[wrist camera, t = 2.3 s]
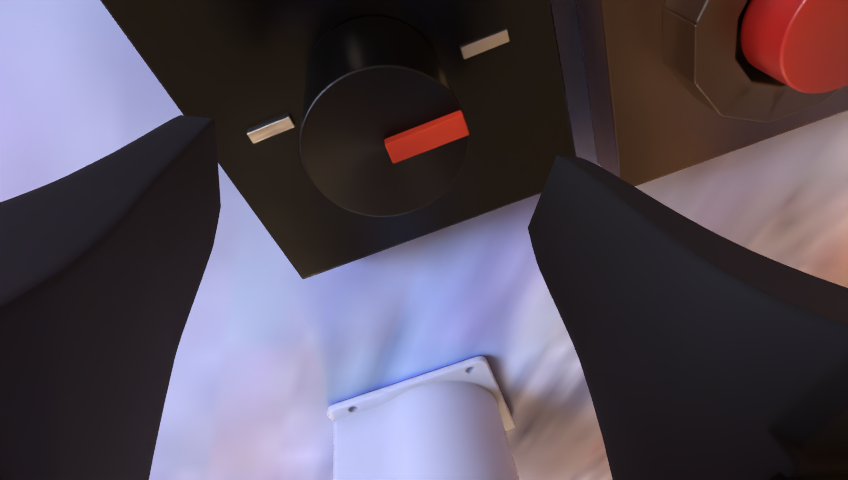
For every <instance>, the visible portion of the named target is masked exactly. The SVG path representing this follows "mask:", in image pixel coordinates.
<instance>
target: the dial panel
mask: <svg viewBox="0 0 848 480" xmlns="http://www.w3.org/2000/svg"><path fill="white" fill-rule="evenodd" d="M101 2H102V3H103V4H104V6H105V7H106V9H107V10H108V11H109V13H110V14H111V15H112V17H113V18H114V20H115V21H116V22H117V24H118V25H119V27H120V28H121V29H122V31H123V32H124V33H125V35H126V36H127V38H128V39H129V40H130V42H131V43H132V44H133V46H134V47H135V49H136V50H137V51H138V53H139V54H140V55H141V57H142V58H143V60H144V61H145V62H146V64H147V65H148V66H149V68H150V69H151V71H152V72H153V73H154V75H155V76H156V78H157V79H158V80H159V82H160V83H161V84H162V86H163V87H164V89H165V90H166V91H167V93H168V94H169V95H170V97H171V98H172V100H173V101H174V102H175V104H176V105H177V106H178V108H179V109H180V111H181V112H182V113H183V115H184V116H192V117H202V118H211V119H215V129H216V144H217V159H218V163H219V164H220V166H221V167H222V169H223V170H224V171H225V173H226V174H227V175H228V177H229V178H230V180H231V181H232V182H233V184H234V185H235V186H236V188H237V189H238V191H239V192H240V193H241V195H242V196H243V197H244V199H245V200H246V202H247V203H248V204H249V206H250V207H251V209H252V210H253V211H254V213H255V214H256V215H257V217H258V218H259V220H260V221H261V222H262V224H263V225H264V226H265V228H266V229H267V231H268V232H269V233H270V235H271V236H272V237H273V239H274V240H275V242H276V243H277V244H278V246H279V247H280V249H281V250H282V251H283V253H284V254H285V255H286V257H287V258H288V260H289V261H290V262H291V264H292V265H293V266H294V268H295V269H296V271H297V272H298V273H299V275H300V276H301V277H302V279H306V278H308V277H311V276H314V275H317V274H319V273H322V272H325V271H328V270H330V269H333V268H336V267H339V266H341V265H344V264H347V263H350V262H352V261H355V260H358V259H361V258H363V257H366V256H369V255H372V254H374V253H377V252H380V251H383V250H385V249H388V248H391V247H394V246H396V245H399V244H402V243H405V242H407V241H410V240H413V239H416V238H418V237H421V236H424V235H427V234H429V233H432V232H435V231H438V230H440V229H443V228H446V227H449V226H451V225H454V224H457V223H460V222H462V221H465V220H468V219H471V218H473V217H476V216H479V215H482V214H484V213H487V212H490V211H493V210H495V209H498V208H501V207H504V206H506V205H509V204H512V203H515V202H517V201H520V200H523V199H526V198H528V197H531V196H534V195H537V194H539V193H542V191H543V188H544V186H545V183H546V180H547V178H548V175H549V173H550V170H551V168H552V165H553V163H554V160H555V158H556V155H559V156H568V157H576V153H575V146H574V140H573V134H572V128H571V122H570V116H569V110H568V104H567V98H566V92H565V86H564V80H563V74H562V68H561V62H560V55H559V49H558V43H557V37H556V31H555V25H554V19H553V13H552V7H551V1H550V0H101ZM366 16H380V17H387V18H392V19H395V20H398V21H401V22H403V23H405V24H407V25H409V26H411V27H412V28H414V29H415V30H416V31H418V32H419V33H420V34H421V35H422V36H423V37H424V38H425V39H426V40H427V41H428V43H429V44H430V45H431V47H432V48H433V50H434V52H435V54H436V56H437V58H438V60H439V62H440V64H441V66H442V68H443V70H444V72H445V74H446V77H447V79H448V81H449V83H450V85H451V87H452V89H453V91H454V93H455V96H456V98H457V100H458V102H459V104H460V106H461V108H462V111H463V113H464V116H465V119H466V123H467V127H468V131H469V135H468V149H467V154H466V158H465V161H464V164H463V166H462V168H461V170H460V172H459V174H458V176H457V177H456V179H455V180H454V182H453V183H452V184H451V186H450V187H449V188H448V189H447V190H446V191H445V192H444V193H443V194H442V195H441V196H440V197H438V198H437V199H435V200H434V201H433V202H431V203H429V204H428V205H426V206H424V207H422V208H420V209H418V210H415V211H412V212H409V213H406V214H402V215H396V216H387V217H377V216H368V215H362V214H358V213H355V212H352V211H349V210H346V209H344V208H342V207H340V206H338V205H337V204H335V203H334V202H332V201H331V200H329V199H328V198H327V197H326V196H324V195H323V194H322V193H321V192H320V191H319V190H318V188H317V187H316V186H315V185H314V184H313V182H312V181H311V179H310V178H309V176H308V174H307V172H306V170H305V168H304V165H303V162H302V158H301V152H300V131H301V121H302V112H303V102H304V92H305V82H306V74H307V68H308V64H309V61H310V58H311V56H312V54H313V52H314V50H315V48H316V47H317V45H318V44H319V43H320V41H321V40H322V39H323V38H324V37H325V36H326V35H327V34H328V33H329V32H330V31H331V30H333V29H334V28H336V27H337V26H339V25H341V24H343V23H345V22H347V21H350V20H353V19H356V18H360V17H366Z"/></svg>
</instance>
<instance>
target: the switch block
mask: <svg viewBox="0 0 848 480" xmlns="http://www.w3.org/2000/svg"><path fill="white" fill-rule="evenodd" d="M576 2H577V9H578V17H579V24H580V32H581V39H582V47H583V54H584V62H585V69H586V77H587V85H588V92H589V100H590V107H591V115H592V122H593V130H594V137H595V145H596V152H597V160H598V163H599V165H600V166H601V167H602V168H603V169H605V170H607V171H609V172H611V173H612V174H614V175H616V176H617V177H619V178H621V179H622V180H624V181H626V182H627V183H629V184H631V185H632V186H637V185H640V184H643V183H646V182H648V181H651V180H654V179H657V178H660V177H662V176H665V175H668V174H671V173H674V172H676V171H679V170H682V169H685V168H687V167H690V166H693V165H696V164H699V163H701V162H704V161H707V160H710V159H713V158H715V157H718V156H721V155H724V154H727V153H729V152H732V151H735V150H738V149H741V148H743V147H746V146H749V145H752V144H755V143H757V142H760V141H763V140H766V139H768V138H771V137H774V136H777V135H780V134H782V133H785V132H788V131H791V130H794V129H796V128H799V127H802V126H805V125H808V124H810V123H813V122H816V121H819V120H822V119H824V118H827V117H830V116H833V115H836V114H838V113H841V112H844V111H847V110H848V85H847V86H844V87H842V88H839V89H836V90H833V91H830V92H825V93H803V92H799V91H797V90H795V89H793V88H791V87H789V86H787V85H785V84H784V83H782V82H780V81H778V80H776V79H775V78H773V77H771V76H769V75H767V74H765V73H764V72H762V71H760V70H758V69H756V68H755V67H754V66H752V65H751V64H750V63H749V62H748V61H747V59H746V57H745V56H744V54H743V51H742V47H741V41H740V31H741V24H742V20H743V16H744V13H745V11H746V8H747V6H748V4H749V2H750V0H576Z"/></svg>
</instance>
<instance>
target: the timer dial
mask: <svg viewBox="0 0 848 480" xmlns="http://www.w3.org/2000/svg"><path fill="white" fill-rule="evenodd" d="M468 135H469V131H468V127H467V123H466V119H465V116H464V113H463V111H462V108H461V106H460V104H459V102H458V100H457V98H456V96H455V93H454V91H453V89H452V87H451V85H450V83H449V81H448V79H447V77H446V74H445V72H444V70H443V68H442V66H441V64H440V62H439V60H438V58H437V56H436V54H435V52H434V50H433V48H432V47H431V45H430V44H429V43H428V41H427V40H426V39H425V38H424V37H423V36H422V35H421V34H420V33H419V32H418V31H416V30H415V29H414V28H412V27H411V26H409V25H407V24H405V23H403V22H401V21H398V20H395V19H392V18H387V17H380V16H366V17H360V18H356V19H353V20H350V21H347V22H345V23H343V24H341V25H339V26H337V27H336V28H334V29H333V30H331V31H330V32H329V33H328V34H327V35H326V36H325V37H324V38H323V39H322V40H321V41H320V43H319V44H318V45H317V47H316V48H315V50H314V52H313V54H312V56H311V58H310V61H309V64H308V68H307V74H306V82H305V92H304V102H303V112H302V121H301V131H300V152H301V158H302V162H303V165H304V168H305V170H306V172H307V174H308V176H309V178H310V179H311V181H312V182H313V184H314V185H315V186H316V187H317V188H318V190H319V191H320V192H321V193H322V194H323V195H324V196H326V197H327V198H328V199H329V200H331V201H332V202H334V203H335V204H337V205H338V206H340V207H342V208H344V209H346V210H349V211H352V212H355V213H358V214H362V215H368V216H377V217H387V216H396V215H402V214H406V213H409V212H412V211H415V210H418V209H420V208H422V207H424V206H426V205H428V204H429V203H431V202H433V201H434V200H435V199H437V198H438V197H440V196H441V195H442V194H443V193H444V192H445V191H446V190H447V189H448V188H449V187H450V186H451V184H452V183H453V182H454V180H455V179H456V177H457V176H458V174H459V172H460V170H461V168H462V166H463V164H464V161H465V158H466V154H467V149H468Z"/></svg>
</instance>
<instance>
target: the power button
mask: <svg viewBox="0 0 848 480" xmlns="http://www.w3.org/2000/svg"><path fill="white" fill-rule="evenodd" d="M740 41H741V47H742V51H743V54H744V56H745V57H746V59H747V61H748V62H749V63H750V64H751V65H752V66H754V67H755V68H756V69H758V70H760V71H762V72H764V73H765V74H767V75H769V76H771V77H773V78H775V79H776V80H778V81H780V82H782V83H784V84H785V85H787V86H789V87H791V88H793V89H795V90H797V91H799V92H803V93H825V92H830V91H833V90H836V89H839V88H842V87H844V86H847V85H848V0H750V2H749V4H748V6H747V8H746V11H745V13H744V16H743V20H742V24H741V31H740Z"/></svg>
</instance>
